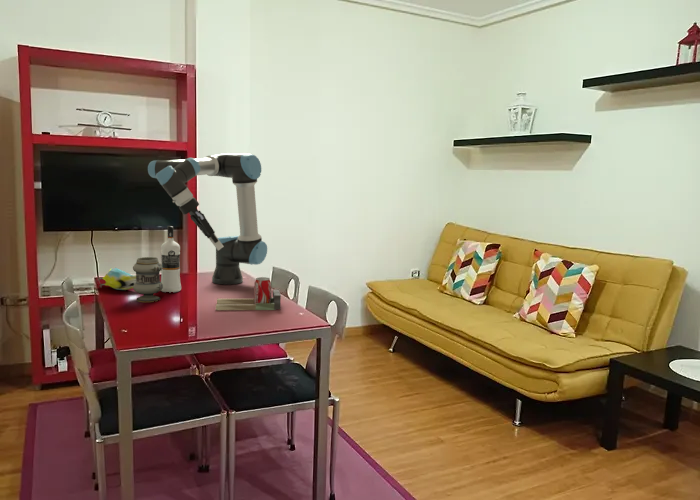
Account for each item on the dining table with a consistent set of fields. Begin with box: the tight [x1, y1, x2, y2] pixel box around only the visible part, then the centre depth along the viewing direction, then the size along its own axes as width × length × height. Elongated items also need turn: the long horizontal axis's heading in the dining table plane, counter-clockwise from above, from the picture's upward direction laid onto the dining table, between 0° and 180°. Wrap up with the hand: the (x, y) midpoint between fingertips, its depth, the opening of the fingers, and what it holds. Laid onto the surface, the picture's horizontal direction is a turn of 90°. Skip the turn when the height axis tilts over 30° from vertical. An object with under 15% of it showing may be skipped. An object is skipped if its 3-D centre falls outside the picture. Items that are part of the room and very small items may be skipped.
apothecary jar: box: [132, 256, 163, 303], centre depth 241 cm, size 12×12×18 cm
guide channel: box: [215, 289, 282, 311], centre depth 237 cm, size 12×26×6 cm, turn 101°
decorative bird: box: [97, 267, 136, 291], centre depth 261 cm, size 14×30×9 cm, turn 56°
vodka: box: [160, 225, 182, 294], centre depth 259 cm, size 9×9×30 cm
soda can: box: [253, 276, 272, 304], centre depth 237 cm, size 7×7×12 cm
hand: (220, 248), depth 235 cm, fingers closed
